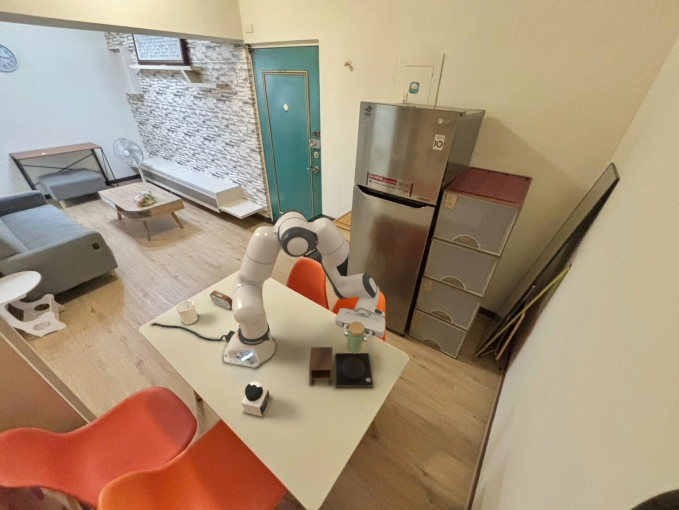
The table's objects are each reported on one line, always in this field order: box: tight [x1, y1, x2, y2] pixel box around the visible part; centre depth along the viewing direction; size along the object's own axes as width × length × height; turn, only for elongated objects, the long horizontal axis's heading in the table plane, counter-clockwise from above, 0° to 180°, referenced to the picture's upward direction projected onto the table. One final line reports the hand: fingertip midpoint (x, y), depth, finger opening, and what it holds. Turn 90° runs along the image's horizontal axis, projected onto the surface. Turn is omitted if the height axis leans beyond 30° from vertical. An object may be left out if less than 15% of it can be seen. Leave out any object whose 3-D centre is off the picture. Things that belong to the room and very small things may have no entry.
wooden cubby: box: [308, 346, 334, 385], centre depth 110 cm, size 9×10×11 cm
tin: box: [209, 290, 232, 310], centre depth 141 cm, size 15×3×8 cm, turn 65°
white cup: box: [175, 299, 199, 325], centre depth 132 cm, size 8×8×10 cm
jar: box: [346, 322, 365, 354], centre depth 102 cm, size 6×6×11 cm
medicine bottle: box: [241, 380, 271, 417], centre depth 98 cm, size 7×7×12 cm
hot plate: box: [334, 352, 374, 389], centre depth 113 cm, size 15×15×3 cm
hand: (355, 338), depth 101 cm, fingers closed on jar, 6 cm apart
